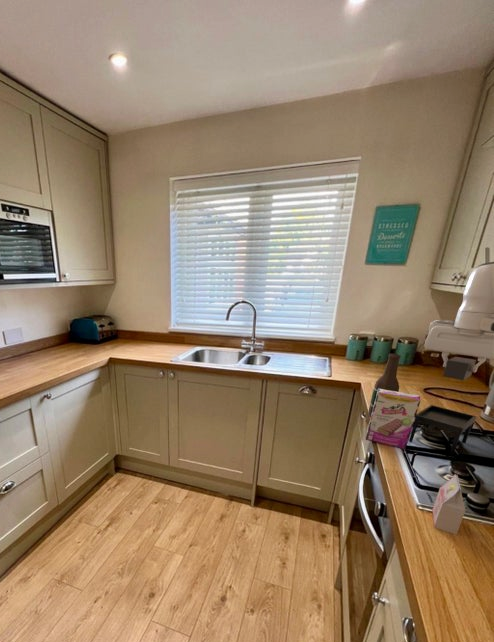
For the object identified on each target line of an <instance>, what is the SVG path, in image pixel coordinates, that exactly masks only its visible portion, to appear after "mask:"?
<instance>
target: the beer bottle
mask: <svg viewBox="0 0 494 642" xmlns="http://www.w3.org/2000/svg"><path fill="white" fill-rule="evenodd" d="M387 357H388V359H387V362H386V365H385V369H384V371H383V374H382V375H381V376H380V377H379V378H378V379H377V380H376V382H375V384H374V387H373V390H372V395H371V398H370V403H369V408H368V412H367V413H368V416H369V419H370V418H371V414H372V410H373V407H374V403H375V399H376V395H377V391H378V389H384V390H390V391H396V392H400V383H399V380H398V378H397V374H398V368H399V363H400V359H401V358H402V357H401V354H400V353H399V354H398V353H393V352H392V353H389V354H388V356H387Z"/></svg>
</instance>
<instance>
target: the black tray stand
mask: <svg viewBox="0 0 494 642" xmlns="http://www.w3.org/2000/svg"><path fill="white" fill-rule="evenodd" d="M476 419H477V415H474V414H473V415H472V414H469V413H465V412H460V411H457V410H453V409H450V408H446V407H442V406H438V405H434V404H430V405H429V406H427V407H425V408H424V409H422V410H421V411H419V412H417V414H416V417H415V420H414V423H413V427H412V430H411V433H410V436H409V440H408V443H413V442H414V438H415V435H416V432H417V428H418V425H419V423H422V424H424V427H426V428H428V429H429V426H432V427H436V428H439V429H443V430H446V431H449V432H451V433H455V435H454V438H453V441H452V444H451V447H450V450H449V452H448V456H450V455H453V456H454V454H455V451H456V448H457V445H458V443H459V440H460V437H461V435H462V434H463V433H464V434H463V437H462V439H461V443H462V444H466V443H467V440H468V437H469V434H470V432H471V429H472V426H473V424H474V423H476Z"/></svg>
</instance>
